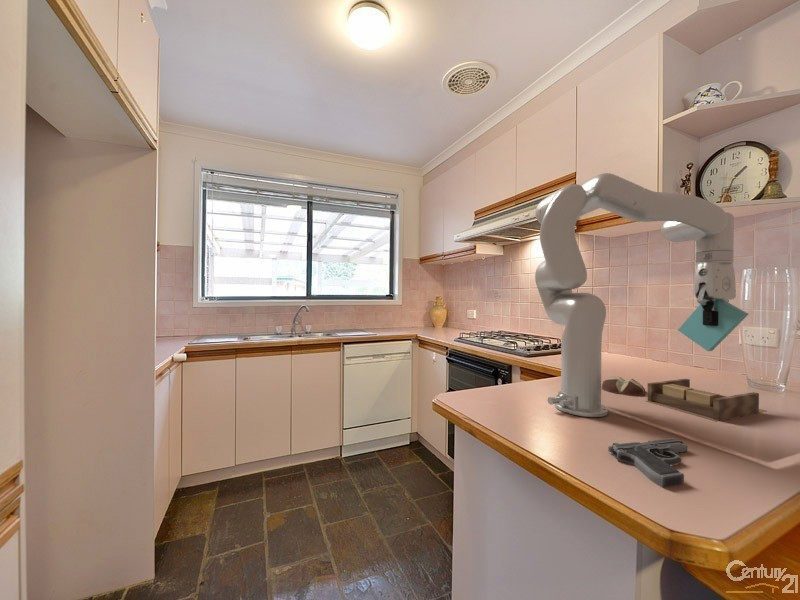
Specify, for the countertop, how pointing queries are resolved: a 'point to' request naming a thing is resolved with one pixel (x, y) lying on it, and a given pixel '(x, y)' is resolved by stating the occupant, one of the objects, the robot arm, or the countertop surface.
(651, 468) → the handgun
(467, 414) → the countertop surface
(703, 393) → the offcut right
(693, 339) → the panel
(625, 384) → the bread
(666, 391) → the offcut left
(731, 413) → the rack
